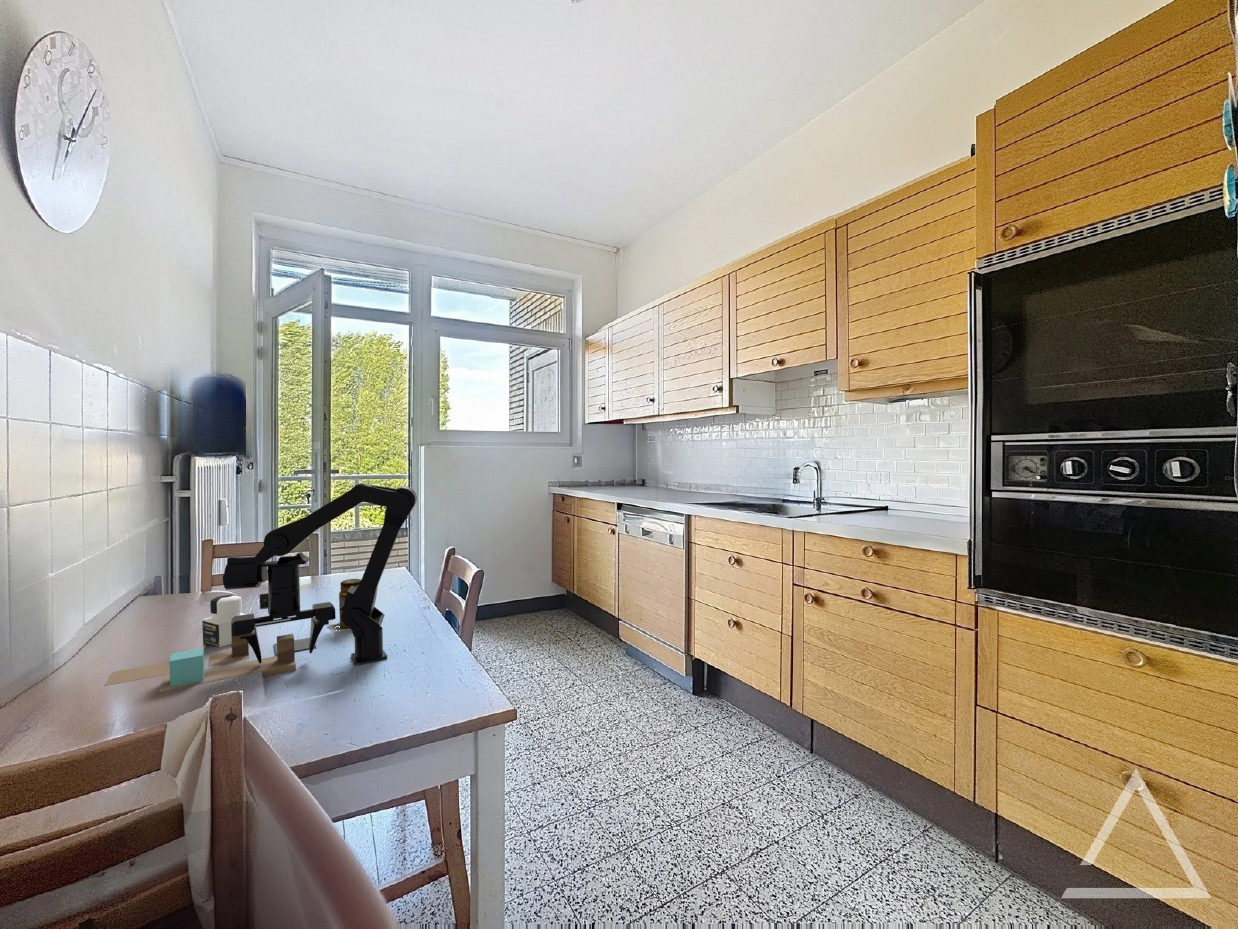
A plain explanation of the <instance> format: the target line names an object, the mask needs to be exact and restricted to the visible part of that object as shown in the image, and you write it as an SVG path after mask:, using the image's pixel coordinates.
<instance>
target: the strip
mask: <svg viewBox="0 0 1238 929" xmlns="http://www.w3.org/2000/svg"><path fill="white" fill-rule="evenodd" d="M294 640H295V636H294V633H288V634H283V635H278V636H276V644H277V656H276V655H275V656H274V655H273V656H268V657H262V663H259V662H258V659H254V660H249V661H244V662H239V663H232V664H228V665H222V666H218V667H212V668H207V669H204V670H205V673H204V679H203V681H199V682H194V683H189V684H184V685H179V686H174V687H170V676H165V677H163V679H162V682H161V686H160V688H159V692H158V693H164V692H168V691H174V690H178V689H182V688H183V689H184V688H187V687H192V686H197V685H202V684H207V683H212V682H217V681H222V680H227V679H233V678H237V677H242V676H247V675H252V674H256V673H261V676H262V677H263V678H264V677H269V676H274V675H279V674H283V673H288V672H292V671H293V672H294V671H296V670H297V666H296V664H297V663H296V655H295V653H296V652H294Z"/></svg>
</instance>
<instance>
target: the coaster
mask: <svg viewBox="0 0 1238 929" xmlns="http://www.w3.org/2000/svg"><path fill="white" fill-rule="evenodd" d="M309 641H310V637H306V638H299V639H294V652H295V653H297V652H303V651H308V650H309ZM273 647H274V653H275V656H277V643H274V644H273ZM314 649H317V645H316V644H315V646H314Z"/></svg>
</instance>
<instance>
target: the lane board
mask: <svg viewBox="0 0 1238 929" xmlns="http://www.w3.org/2000/svg"><path fill="white" fill-rule="evenodd" d="M164 675H170V663H169V661H166V662H160V663H156V664H155V663H154V664H150V665H149V664H148V665H144V666H137V667H134V668H133V667H132V668H127V669H121V670H116V671H111V674H110V675H109V677H108V679H107V681H106V682H105V684H104V687H107V686H112V685H116V684H118V685H119V684H122V683H128V682H132V681H139V680H143V679H148V678H153V677H158V676H159V677H160V676H164Z"/></svg>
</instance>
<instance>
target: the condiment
mask: <svg viewBox="0 0 1238 929" xmlns="http://www.w3.org/2000/svg"><path fill="white" fill-rule="evenodd" d="M361 580H362V578H349V579H345V580H342V581H341V582H340V583H339V585H340V589H339V590H340V591H339V593H338V598H339V599H338V600H339V601H338V604H339V605H338V606H339V608H338V609H339V623H338V622H337V623H335V624H334V623H332V624H327V627H328V628H329V629H330V630H331V631H333V632H334V633H336V634H337V633H340V632H344V631H349V630H350V631H351V629H350V627H347V626H346V625H345V624H344V623H343V621H342V619H341V615H342V612H343V610H341V611H340V608H341V607H342V605H343V604H344V602H345V598H346V594H347V592H348V590H349V589H350V587H351V586H354V587H356V588H357V587H358V586H359V584H360V582H361ZM336 626H340V628H339V627H336ZM335 627H336V628H335ZM336 630H337V631H336ZM339 630H340V631H339Z"/></svg>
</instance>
